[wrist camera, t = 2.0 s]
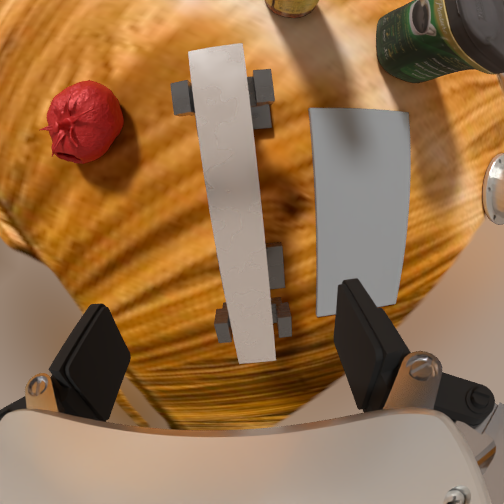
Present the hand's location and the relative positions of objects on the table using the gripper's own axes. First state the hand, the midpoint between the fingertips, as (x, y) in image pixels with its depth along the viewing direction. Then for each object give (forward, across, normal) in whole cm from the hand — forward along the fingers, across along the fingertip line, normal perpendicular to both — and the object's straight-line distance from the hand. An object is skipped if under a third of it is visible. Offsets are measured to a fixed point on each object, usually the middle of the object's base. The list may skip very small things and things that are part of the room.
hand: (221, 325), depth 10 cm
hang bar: (+13, -1, 0) cm, 13 cm away
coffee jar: (+23, -23, -18) cm, 37 cm away
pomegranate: (+24, +16, -12) cm, 31 cm away
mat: (+23, -16, +5) cm, 29 cm away
